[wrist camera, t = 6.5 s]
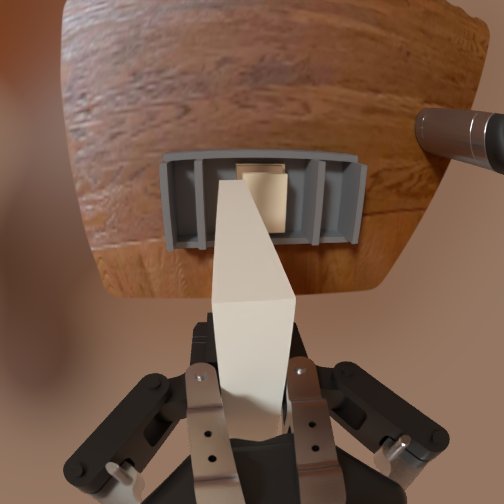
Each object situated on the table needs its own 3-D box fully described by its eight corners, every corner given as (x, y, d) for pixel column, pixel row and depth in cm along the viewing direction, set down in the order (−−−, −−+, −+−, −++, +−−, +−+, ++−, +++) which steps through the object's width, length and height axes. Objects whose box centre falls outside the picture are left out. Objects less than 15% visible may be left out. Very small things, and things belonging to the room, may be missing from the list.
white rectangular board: (244, 179, 26) (295, 298, 8) (244, 272, 30) (274, 446, 12) (219, 180, 26) (211, 302, 8) (222, 272, 30) (229, 450, 12)
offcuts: (282, 162, 40) (290, 166, 35) (280, 225, 44) (286, 235, 40) (235, 162, 39) (237, 166, 35) (235, 226, 43) (237, 237, 39)
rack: (346, 153, 41) (367, 158, 35) (339, 233, 47) (356, 249, 40) (168, 152, 38) (158, 156, 31) (174, 238, 44) (167, 257, 37)
